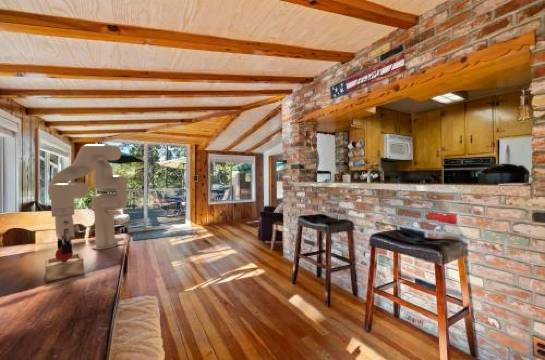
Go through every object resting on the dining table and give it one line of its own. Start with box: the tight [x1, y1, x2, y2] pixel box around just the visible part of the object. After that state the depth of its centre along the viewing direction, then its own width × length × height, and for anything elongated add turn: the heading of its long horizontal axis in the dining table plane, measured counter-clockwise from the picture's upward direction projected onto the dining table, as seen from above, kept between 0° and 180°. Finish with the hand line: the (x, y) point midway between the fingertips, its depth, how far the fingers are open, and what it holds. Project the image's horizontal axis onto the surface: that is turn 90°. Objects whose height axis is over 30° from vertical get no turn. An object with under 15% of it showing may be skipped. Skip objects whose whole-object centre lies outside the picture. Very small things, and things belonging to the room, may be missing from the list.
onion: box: [54, 247, 74, 262], centre depth 106 cm, size 6×6×8 cm
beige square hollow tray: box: [44, 252, 85, 282], centre depth 106 cm, size 12×12×6 cm
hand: (64, 251), depth 107 cm, fingers open, 9 cm apart
